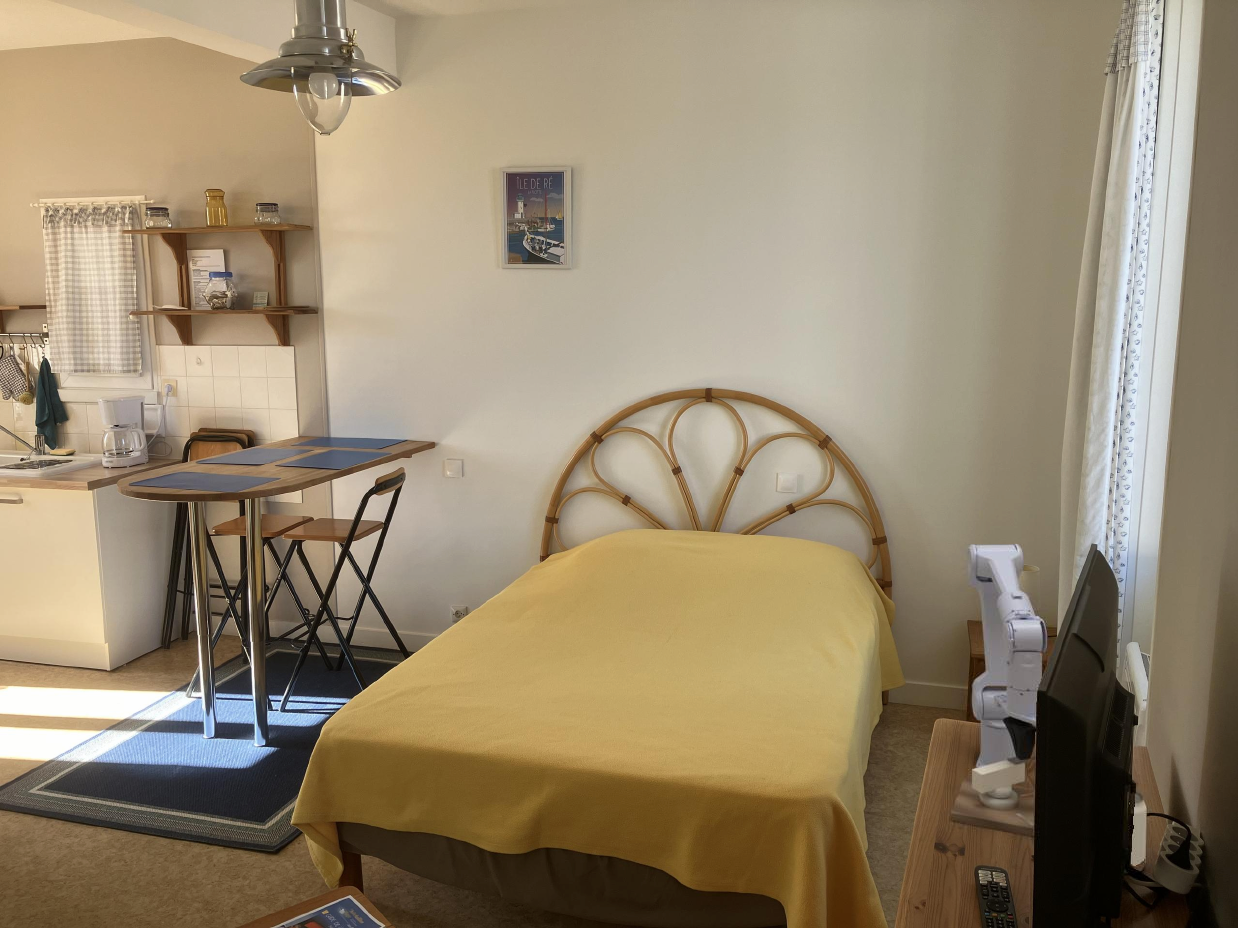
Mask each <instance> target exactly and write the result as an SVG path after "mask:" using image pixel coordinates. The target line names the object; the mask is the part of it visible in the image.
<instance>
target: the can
mask: <svg viewBox="0 0 1238 928" xmlns="http://www.w3.org/2000/svg"><path fill="white" fill-rule="evenodd" d="M1144 799H1145V797H1144V794H1142V793H1141V792H1140V791H1138V790H1136V794H1135V807H1134V816H1133V825H1134V829H1133V834H1132V852H1131V864H1132V865H1133V866H1136V865H1138V864H1140V863H1141V862H1142V861H1144V859H1145V860H1146V847H1147V845H1146V844H1147V806H1146V803H1145V801H1144ZM1129 804H1130V803H1129Z"/></svg>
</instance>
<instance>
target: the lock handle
mask: <svg viewBox="0 0 1238 928" xmlns="http://www.w3.org/2000/svg"><path fill="white" fill-rule="evenodd" d="M1025 777H1026V762H1025V760H1020V759H1018V758H1017V757H1012V758H1008V759H1007V760H1004V761H1001V762H997V763H993V764H990V765H986V766H982V767H979V768H976V767H975V768H972V769H971V778H972V788H973V789H975V790H977V791H979V792H980V793H985V792H986V793H987V794H988V795H990V796H993V797H996V798H1007V797H1010V796H1011V795H1012V785H1016V784H1019V783H1023V782H1025V781H1026V780H1025V779H1026V778H1025Z"/></svg>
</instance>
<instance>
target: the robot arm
mask: <svg viewBox="0 0 1238 928" xmlns="http://www.w3.org/2000/svg"><path fill="white" fill-rule="evenodd" d="M966 569H967V580H968V583H969V586H970V587H973V588H975V589H976V590H977V592H978V594H979V599H980V611H981V623H982V635H983V648H984V651H983V652H984V663H985V671H984V672H983V673H981V674H980V675H979V676H978V677H976V678H975V679H974V680H973V682H972V686H971V687H972V693H971V706H972V707H971V708H972V712H973V716H974V718H976V720H977V721H980V753H979V756H978V758H977V762H976V764H975V768H979V767H982V766H986V765H990V764H993V763H997V762H1001V761H1004V760H1007V759H1008V758H1012V757H1017V758H1018V759H1020V760H1024V761H1025V760H1030V759H1031V758H1032V755H1033V751H1034V748H1035V745H1036V743H1035V732H1036V702H1037V691H1038V687H1039V684H1040V682H1041V679H1043V675H1042V674H1043V653H1045V652H1046V651H1047V647H1048V634H1047V633H1048V632H1047V628H1046V624H1045V621H1044V619H1043V618H1040V616H1038V615H1036V614H1035V611H1034V608H1033V606H1032V603H1031V601H1030V597H1029V595H1028V594H1026V593H1025V592H1023V591H1022V590H1021V589H1020V585H1019V579H1020V577H1021V575H1022V572H1023V570H1024V553H1023V549H1022V547H1020V545H1019V544H1017V543H1013V544H970V545H969V546H968V547H967V549H966ZM986 687H1006V688H986Z"/></svg>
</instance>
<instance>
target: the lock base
mask: <svg viewBox="0 0 1238 928" xmlns="http://www.w3.org/2000/svg"><path fill="white" fill-rule="evenodd" d="M1034 789H1035V788H1031V787H1026V786H1021V785H1015V784H1013V785H1012V795H1011V796H1010V797H1007V798H996V797H993V796H990V795H988V794H987V793H986V792H985V793H980V792H979V791H977V790H975V789H973V788H972V777H967V776H964V777H963V780H962V782H961V785H960V788H959V791H958V793H957V796H956V799H955V801H954V805H953V807H952V809H951V813H950V821H951V820H952V821H951V822H954V821H955V823H960V824H966V825H970V826H976V827H980V828H981V827H982V828H985V829H992V830H997V831H1002V832H1006V833H1007V832H1008V833H1013V834H1017V835H1023V836H1028V837H1033V827H1034Z"/></svg>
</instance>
